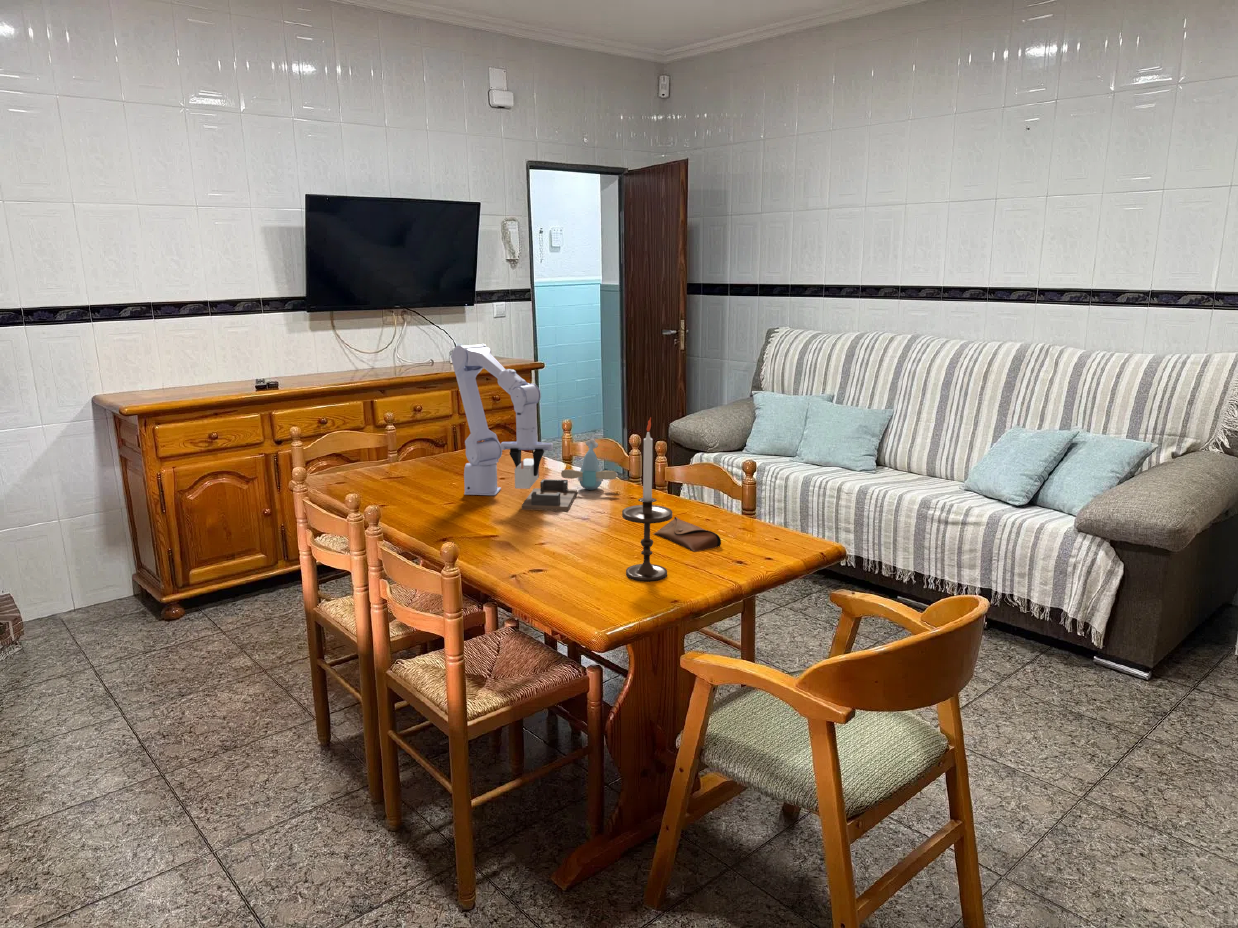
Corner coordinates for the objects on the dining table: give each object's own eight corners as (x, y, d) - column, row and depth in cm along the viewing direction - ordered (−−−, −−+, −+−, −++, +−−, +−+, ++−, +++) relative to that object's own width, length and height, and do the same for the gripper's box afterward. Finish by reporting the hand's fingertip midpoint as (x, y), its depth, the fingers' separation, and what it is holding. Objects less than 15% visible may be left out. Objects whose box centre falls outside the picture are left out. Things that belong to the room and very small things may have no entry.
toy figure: (619, 485, 266) (619, 438, 263) (616, 494, 256) (616, 445, 252) (566, 484, 268) (565, 437, 264) (560, 492, 257) (560, 443, 254)
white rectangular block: (529, 488, 236) (528, 462, 235) (514, 488, 237) (514, 461, 235) (539, 477, 250) (538, 451, 248) (525, 476, 250) (524, 451, 249)
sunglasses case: (649, 533, 218) (660, 509, 219) (668, 542, 222) (679, 519, 223) (694, 552, 204) (706, 526, 204) (713, 562, 208) (725, 537, 208)
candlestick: (647, 562, 196) (649, 411, 189) (681, 575, 189) (684, 418, 181) (611, 573, 190) (612, 417, 182) (645, 587, 182) (647, 424, 174)
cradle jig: (567, 510, 238) (567, 496, 237) (521, 509, 239) (521, 494, 238) (576, 493, 257) (576, 479, 256) (534, 492, 258) (533, 478, 257)
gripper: (497, 429, 237) (499, 477, 240) (549, 430, 236) (550, 478, 239) (503, 425, 244) (504, 471, 247) (554, 426, 243) (554, 473, 246)
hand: (527, 474), depth 243 cm, fingers closed on white rectangular block, 4 cm apart
